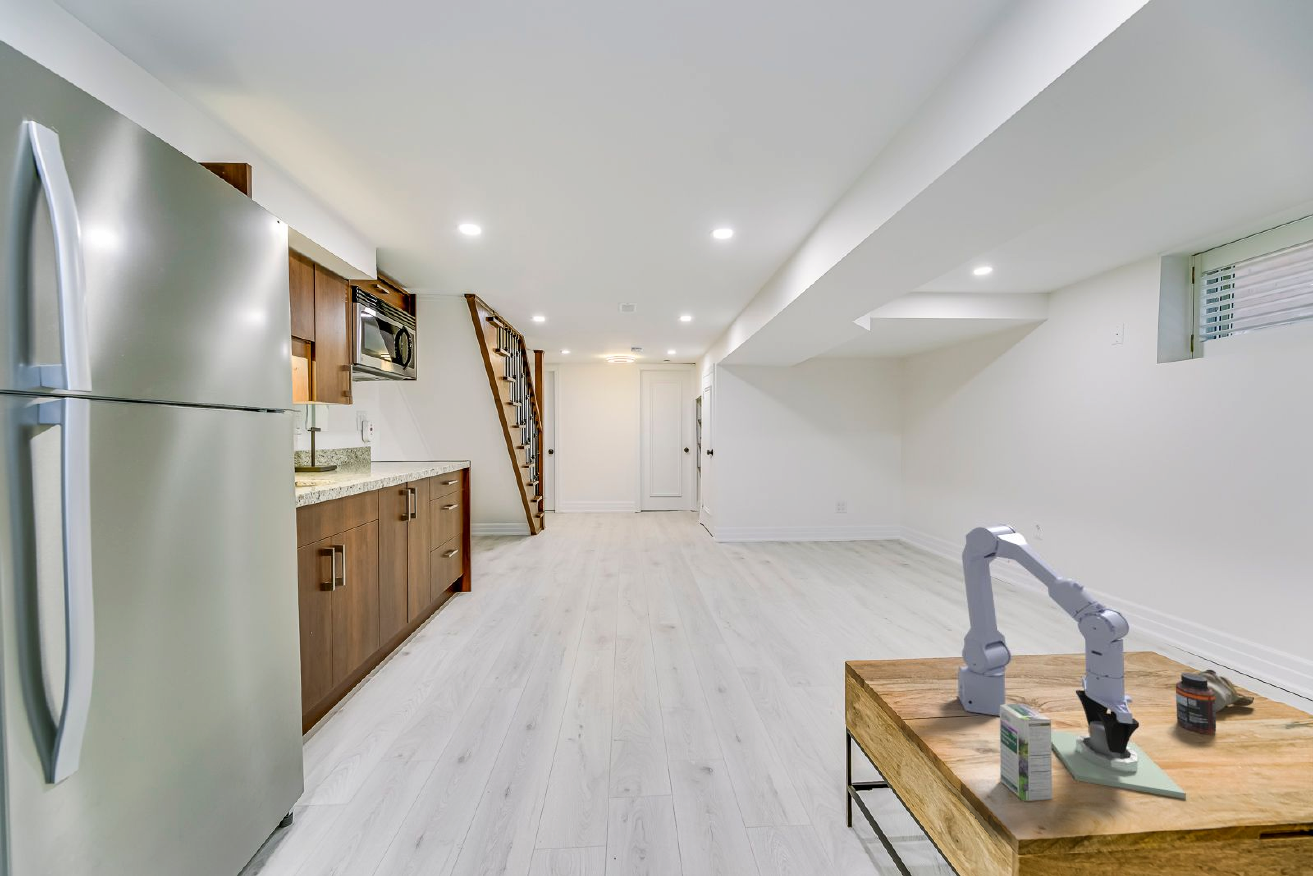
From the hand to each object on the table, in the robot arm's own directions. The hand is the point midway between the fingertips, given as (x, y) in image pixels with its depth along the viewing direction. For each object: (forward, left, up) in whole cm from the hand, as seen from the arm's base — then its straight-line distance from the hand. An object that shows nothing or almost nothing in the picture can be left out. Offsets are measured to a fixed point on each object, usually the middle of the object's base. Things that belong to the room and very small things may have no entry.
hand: (1106, 740), depth 99 cm
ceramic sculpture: (+36, +35, -5) cm, 50 cm away
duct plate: (0, 0, -4) cm, 4 cm away
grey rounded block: (0, 0, -3) cm, 3 cm away
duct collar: (0, 0, -4) cm, 4 cm away
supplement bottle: (+25, +21, -5) cm, 33 cm away
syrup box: (-18, -14, -5) cm, 23 cm away
